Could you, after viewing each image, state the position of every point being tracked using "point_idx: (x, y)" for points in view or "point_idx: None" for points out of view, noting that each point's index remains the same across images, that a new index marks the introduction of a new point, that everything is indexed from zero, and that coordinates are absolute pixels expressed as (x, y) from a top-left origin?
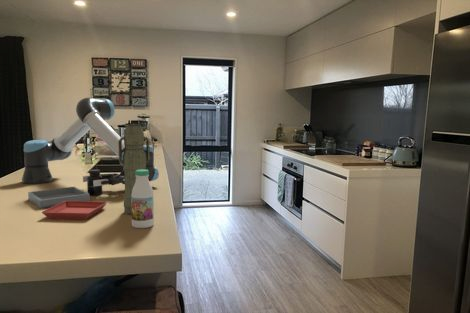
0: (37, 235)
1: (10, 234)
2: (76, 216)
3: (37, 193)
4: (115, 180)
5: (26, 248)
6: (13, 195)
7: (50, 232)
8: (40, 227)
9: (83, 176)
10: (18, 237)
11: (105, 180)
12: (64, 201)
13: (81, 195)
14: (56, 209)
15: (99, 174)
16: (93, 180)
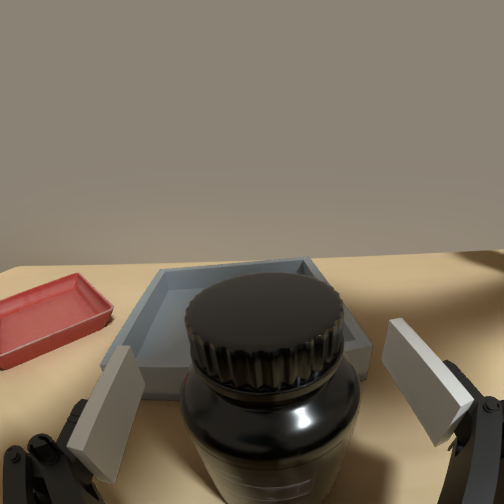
0: (32, 280)
1: (67, 267)
2: (15, 306)
3: (307, 273)
4: (10, 490)
5: (19, 273)
6: (383, 262)
7: (24, 287)
8: None
9: (392, 320)
10: (50, 271)
11: (81, 433)
12: (111, 304)
13: (115, 342)
14: (90, 297)
15: (237, 400)
16: (127, 346)
